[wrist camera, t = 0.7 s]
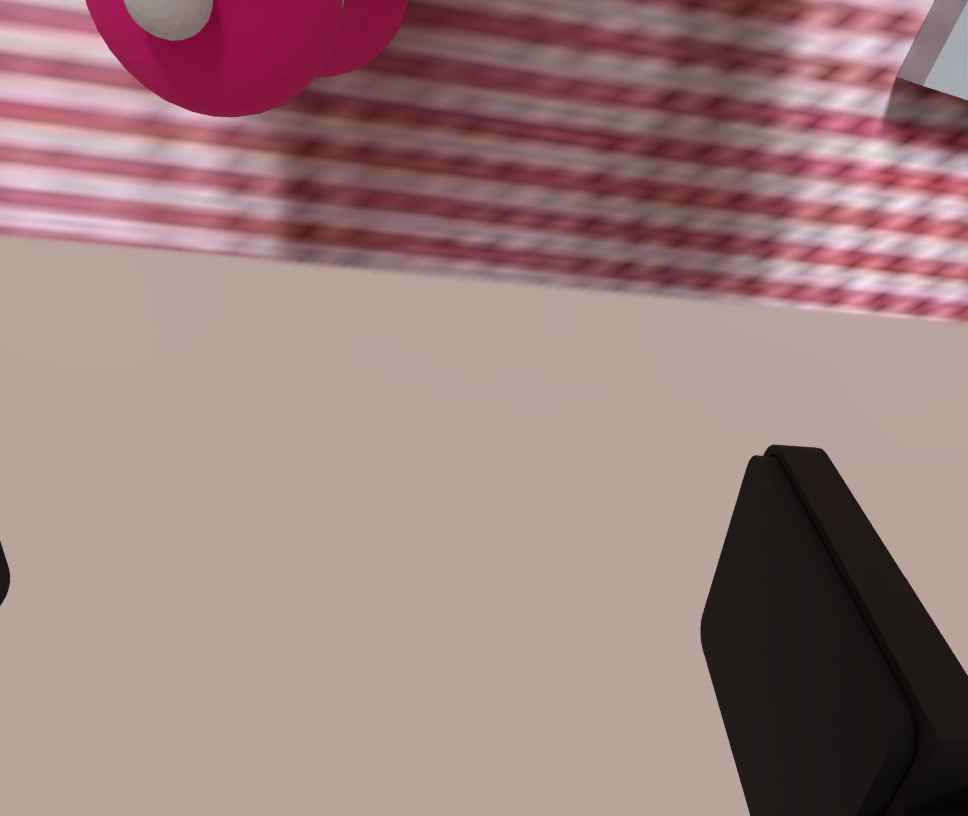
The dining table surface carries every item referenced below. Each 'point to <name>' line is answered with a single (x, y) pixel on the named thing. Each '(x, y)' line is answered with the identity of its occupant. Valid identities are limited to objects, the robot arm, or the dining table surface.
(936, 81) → the dish
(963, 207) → the dining table surface
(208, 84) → the pepper mill
